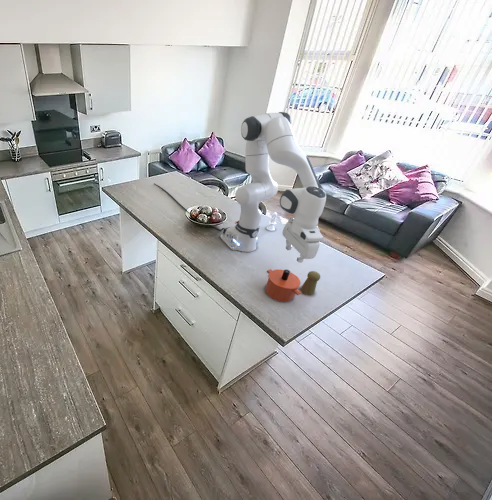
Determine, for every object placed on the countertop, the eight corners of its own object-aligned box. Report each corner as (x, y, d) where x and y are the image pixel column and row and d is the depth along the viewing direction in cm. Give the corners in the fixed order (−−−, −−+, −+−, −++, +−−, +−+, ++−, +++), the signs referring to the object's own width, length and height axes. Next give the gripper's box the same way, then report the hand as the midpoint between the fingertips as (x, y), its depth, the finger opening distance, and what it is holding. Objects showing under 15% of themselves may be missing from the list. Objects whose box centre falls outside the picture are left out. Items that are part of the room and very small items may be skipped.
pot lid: (284, 294, 125) (288, 284, 122) (261, 276, 135) (264, 266, 132) (306, 285, 130) (310, 276, 127) (282, 268, 140) (285, 259, 137)
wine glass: (274, 231, 184) (279, 214, 178) (265, 229, 186) (270, 212, 180) (275, 228, 188) (280, 211, 181) (267, 226, 190) (271, 209, 184)
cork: (302, 285, 141) (309, 267, 135) (315, 290, 138) (323, 272, 132) (298, 291, 137) (306, 273, 131) (312, 297, 134) (320, 279, 128)
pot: (284, 309, 128) (290, 295, 123) (255, 284, 141) (259, 272, 137) (304, 300, 132) (310, 287, 128) (274, 277, 146) (278, 265, 141)
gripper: (283, 215, 125) (275, 242, 133) (309, 240, 108) (298, 269, 116) (297, 215, 126) (288, 242, 133) (325, 239, 109) (313, 268, 116)
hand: (293, 255), depth 125 cm, fingers open, 8 cm apart
